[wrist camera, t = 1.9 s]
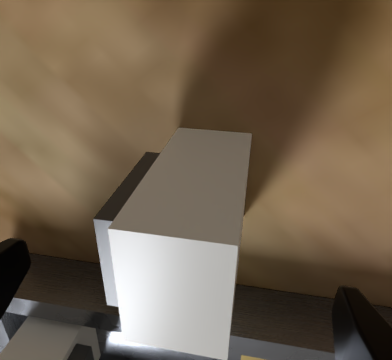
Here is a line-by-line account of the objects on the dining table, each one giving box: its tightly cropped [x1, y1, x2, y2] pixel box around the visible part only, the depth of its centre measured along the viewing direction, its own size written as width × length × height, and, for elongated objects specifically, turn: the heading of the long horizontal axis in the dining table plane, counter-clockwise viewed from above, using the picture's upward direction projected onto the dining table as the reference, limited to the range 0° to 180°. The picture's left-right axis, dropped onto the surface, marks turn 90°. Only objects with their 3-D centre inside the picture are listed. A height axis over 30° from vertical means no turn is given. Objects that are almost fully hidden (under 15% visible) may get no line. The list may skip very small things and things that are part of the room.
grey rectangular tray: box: [0, 253, 392, 360], centre depth 18 cm, size 21×8×3 cm, turn 89°
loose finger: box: [93, 128, 252, 360], centre depth 12 cm, size 4×4×7 cm
